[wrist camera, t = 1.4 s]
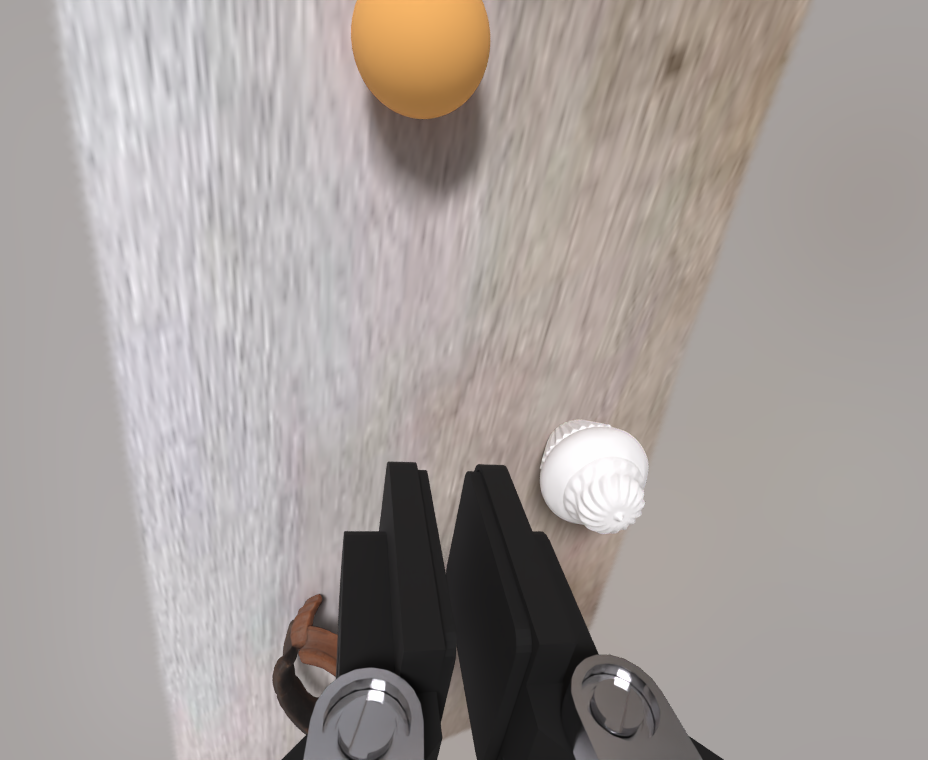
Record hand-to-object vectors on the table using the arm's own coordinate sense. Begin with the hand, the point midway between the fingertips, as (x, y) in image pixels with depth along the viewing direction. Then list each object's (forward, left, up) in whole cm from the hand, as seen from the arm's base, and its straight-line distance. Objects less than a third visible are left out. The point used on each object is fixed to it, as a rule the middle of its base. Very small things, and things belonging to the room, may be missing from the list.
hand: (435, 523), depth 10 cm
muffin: (0, +15, -17) cm, 23 cm away
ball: (-7, -6, -15) cm, 17 cm away
